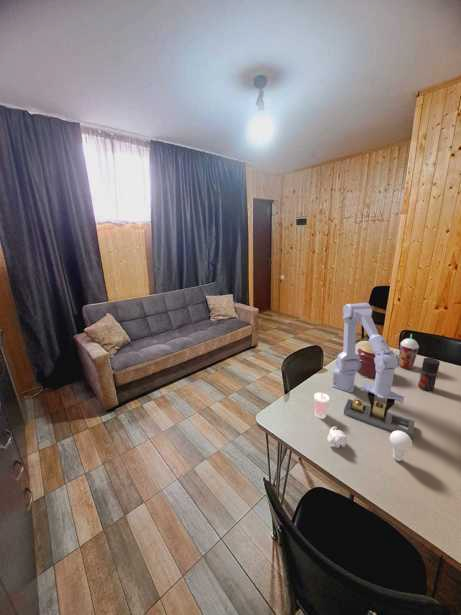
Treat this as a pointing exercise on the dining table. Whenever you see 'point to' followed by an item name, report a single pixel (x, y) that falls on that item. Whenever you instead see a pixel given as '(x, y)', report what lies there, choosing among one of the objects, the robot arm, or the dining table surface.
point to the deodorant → (428, 374)
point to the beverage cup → (321, 404)
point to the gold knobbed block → (358, 406)
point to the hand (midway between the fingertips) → (378, 410)
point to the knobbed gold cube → (378, 410)
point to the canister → (367, 361)
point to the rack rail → (380, 423)
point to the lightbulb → (400, 444)
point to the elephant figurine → (337, 437)
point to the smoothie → (408, 353)
